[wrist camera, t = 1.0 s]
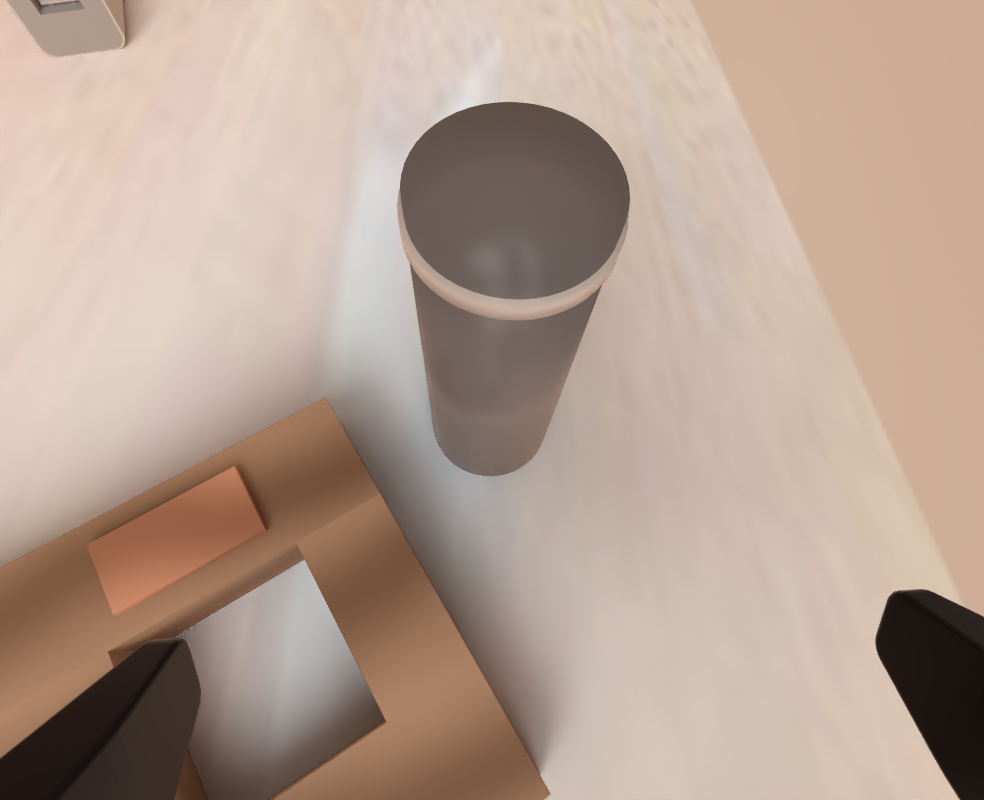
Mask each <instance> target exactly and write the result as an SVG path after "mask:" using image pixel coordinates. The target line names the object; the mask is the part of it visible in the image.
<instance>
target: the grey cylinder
mask: <svg viewBox="0 0 984 800" xmlns="http://www.w3.org/2000/svg"><path fill="white" fill-rule="evenodd" d="M629 202H630V194H629V185H628V181H627V176H626V173H625V171H624V168H623V166H622V164H621V162H620V160H619V159H618V157H617V155H616V153H615V152H614V151H613V150H612V148H611V147H610V146H609V144H608V143H607V142H606V141H605V140H604V139H603V138H602V137H601V136H600V135H599V134H598V133H596V132H595V131H594V130H592V129H591V128H590V127H589V126H587V125H585V124H584V123H582V122H581V121H579V120H577V119H576V118H573V117H571V116H569V115H567V114H565V113H563V112H560V111H557V110H554V109H552V108H548V107H544V106H540V105H534V104H528V103H517V102H500V103H490V104H483V105H479V106H475V107H471V108H467V109H465V110H462V111H459V112H456V113H454V114H452V115H450V116H448V117H446V118H444V119H443V120H441V121H440V122H438V123H437V124H435V125H434V126H433V127H431V128H430V129H429V130H428V131H427V132H425V133H424V134H423V136H422V137H421V138H420V139H419V140H418V141H417V142H416V144H415V145H414V147H413V148H412V150H411V151H410V153H409V155H408V157H407V159H406V161H405V163H404V167H403V170H402V174H401V182H400V190H399V195H398V204H397V206H398V219H399V226H400V232H401V238H402V243H403V247H404V250H405V253H406V255H407V258H408V260H409V262H410V267H411V274H412V281H413V288H414V294H415V301H416V308H417V315H418V322H419V329H420V336H421V343H422V350H423V357H424V364H425V371H426V378H427V385H428V392H429V398H430V405H431V412H432V419H433V426H434V432H435V437H436V439H437V442H438V444H439V446H440V448H441V450H442V451H443V453H444V454H445V455H446V456H447V457H448V459H449V460H450V461H452V462H453V463H454V464H455V465H457V466H458V467H460V468H461V469H463V470H466V471H468V472H470V473H474V474H477V475H483V476H497V475H503V474H507V473H510V472H513V471H515V470H517V469H519V468H521V467H522V466H523V465H525V464H526V463H527V462H528V461H529V460H531V459H532V457H533V456H534V455H535V454H536V452H537V451H538V449H539V447H540V445H541V443H542V441H543V438H544V435H545V433H546V430H547V428H548V425H549V422H550V420H551V417H552V414H553V412H554V409H555V407H556V404H557V401H558V399H559V396H560V393H561V391H562V388H563V385H564V383H565V380H566V378H567V375H568V372H569V370H570V367H571V364H572V362H573V359H574V357H575V354H576V351H577V349H578V346H579V343H580V341H581V338H582V336H583V333H584V330H585V328H586V325H587V322H588V320H589V317H590V315H591V312H592V309H593V307H594V304H595V301H596V299H597V296H598V294H599V291H600V288H601V286H602V284H603V282H604V281H605V280H606V279H607V277H608V275H609V274H610V272H611V271H612V269H613V267H614V264H615V262H616V260H617V258H618V255H619V252H620V250H621V247H622V245H623V242H624V239H625V236H626V232H627V227H628V211H629Z"/></svg>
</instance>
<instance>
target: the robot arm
mask: <svg viewBox="0 0 984 800" xmlns="http://www.w3.org/2000/svg"><path fill="white" fill-rule="evenodd" d="M875 644H876V649H877V652H878V655H879V658H880V660H881V662H882V664H883V665H884V667H885V669H886V671H887V673H888V674H889V676H890V678H891V680H892V682H893V684H894V685H895V687H896V689H897V691H898V693H899V695H900V696H901V698H902V700H903V702H904V704H905V706H906V707H907V709H908V711H909V713H910V715H911V716H912V718H913V720H914V722H915V724H916V726H917V727H918V729H919V731H920V733H921V735H922V737H923V738H924V740H925V742H926V744H927V746H928V748H929V749H930V751H931V753H932V755H933V757H934V758H935V760H936V762H937V764H938V765H939V767H940V769H941V770H942V772H943V774H944V776H945V777H946V779H947V780H948V782H949V784H950V785H951V787H952V788H953V790H954V791H955V793H956V795H957V796H958V798H959V799H960V800H984V617H983V616H981V615H979V614H977V613H975V612H973V611H971V610H969V609H967V608H965V607H963V606H960V605H958V604H956V603H954V602H952V601H950V600H948V599H946V598H944V597H942V596H940V595H938V594H936V593H934V592H931V591H929V590H923V589H916V590H900V591H895V592H893V593H892V594H891V595H890V596H889V598H888V600H887V603H886V606H885V609H884V612H883V615H882V618H881V621H880V624H879V628H878V631H877V634H876V639H875ZM200 697H201V690H200V683H199V680H198V676H197V673H196V669H195V666H194V662H193V659H192V655H191V652H190V648H189V646H188V643H187V642H186V641H185V640H184V639H182V638H167V639H153V640H149V641H147V642H145V643H144V644H142V645H141V646H139V647H138V648H137V649H136V650H134V651H133V652H132V653H131V654H129V655H128V656H127V657H126V658H124V659H123V660H122V661H121V662H119V663H118V664H117V665H116V666H114V667H113V668H112V669H111V670H109V671H108V672H107V673H106V674H104V675H103V676H102V677H101V678H99V679H98V680H97V681H96V682H94V683H93V684H92V685H91V686H89V687H88V688H87V689H86V690H84V691H83V692H82V693H81V694H79V695H78V696H77V697H76V698H74V699H73V700H72V701H71V702H69V703H68V704H67V705H66V706H64V707H63V708H62V709H61V710H59V711H58V712H57V713H56V714H54V715H53V716H52V717H51V718H49V719H48V720H47V721H46V722H44V723H43V724H42V725H41V726H39V727H38V728H37V729H36V730H34V731H33V732H32V733H31V734H29V735H28V736H27V737H26V738H24V739H23V740H22V741H21V742H19V743H18V744H17V745H16V746H14V747H13V748H12V749H11V750H9V751H8V752H7V753H6V754H4V755H3V756H2V757H1V758H0V800H174V799H175V795H176V792H177V788H178V784H179V780H180V777H181V773H182V769H183V765H184V762H185V758H186V754H187V750H188V747H189V743H190V739H191V735H192V732H193V728H194V724H195V720H196V717H197V713H198V709H199V705H200Z"/></svg>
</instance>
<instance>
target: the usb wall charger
mask: <svg viewBox="0 0 984 800" xmlns="http://www.w3.org/2000/svg"><path fill="white" fill-rule="evenodd" d="M5 1H6V3H7V4H8V6H9V7H10V8H11V10H12V11H13V13H14V14H15V15H16V17H17V18H18V20H19V21H20V22H21V24H22V25H23V27H24V28H25V29H26V31H27V32H28V33H29V35H30V36H31V38H32V39H33V40H34V42H35V43H36V45H37V46H38V47H39V49H40V50H42V51H43V52H44V53H46V54H47V55H49V56H52V57H55V58H60V57H68V56H75V55H82V54H89V53H97V52H104V51H111V50H118V49H122V48H123V47H124V45H125V28H124V12H123V0H5Z"/></svg>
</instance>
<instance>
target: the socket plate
mask: <svg viewBox="0 0 984 800" xmlns="http://www.w3.org/2000/svg"><path fill="white" fill-rule="evenodd" d="M304 559H305V561H306V563H307V565H308V567H309V569H310V571H311V573H312V575H313V577H314V579H315V581H316V583H317V585H318V587H319V589H320V591H321V593H322V595H323V597H324V599H325V601H326V603H327V605H328V607H329V609H330V611H331V613H332V615H333V617H334V619H335V621H336V623H337V625H338V627H339V629H340V631H341V633H342V635H343V637H344V639H345V641H346V643H347V645H348V647H349V649H350V651H351V652H352V654H353V656H354V658H355V660H356V662H357V664H358V666H359V668H360V670H361V672H362V674H363V676H364V678H365V680H366V682H367V684H368V686H369V688H370V690H371V692H372V694H373V696H374V698H375V700H376V702H377V704H378V706H379V708H380V710H381V712H382V714H383V716H384V718H385V721H384V722H382V723H381V724H379V725H378V726H376V727H375V728H374V729H372V730H371V731H369V732H368V733H366V734H365V735H363V736H362V737H360V738H359V739H357V740H356V741H354V742H353V743H352V744H350V745H349V746H347V747H346V748H344V749H343V750H341V751H340V752H338V753H337V754H335V755H334V756H333V757H331V758H330V759H328V760H327V761H325V762H324V763H322V764H321V765H319V766H318V767H316V768H315V769H313V770H312V771H311V772H309V773H308V774H306V775H305V776H303V777H302V778H300V779H299V780H297V781H296V782H294V783H293V784H291V785H290V786H289V787H287V788H286V789H284V790H283V791H281V792H280V793H278V794H277V795H275V796H274V797H272V798H271V799H269V800H544V799H545V798H546V797H548V796H549V795H550V792H549V790H548V788H547V787H546V785H545V783H544V781H543V780H542V778H541V776H540V774H539V773H538V771H537V769H536V767H535V765H534V764H533V762H532V760H531V758H530V757H529V755H528V753H527V751H526V750H525V748H524V746H523V744H522V743H521V741H520V739H519V737H518V736H517V734H516V732H515V730H514V728H513V727H512V725H511V723H510V721H509V720H508V718H507V716H506V714H505V713H504V711H503V709H502V707H501V706H500V704H499V702H498V700H497V698H496V697H495V695H494V693H493V691H492V690H491V688H490V686H489V684H488V683H487V681H486V679H485V677H484V676H483V674H482V672H481V670H480V669H479V667H478V665H477V663H476V661H475V660H474V658H473V656H472V654H471V653H470V651H469V649H468V647H467V646H466V644H465V642H464V640H463V639H462V637H461V635H460V633H459V631H458V630H457V628H456V626H455V624H454V623H453V621H452V619H451V617H450V616H449V614H448V612H447V610H446V609H445V607H444V605H443V603H442V602H441V600H440V598H439V596H438V594H437V593H436V591H435V589H434V587H433V586H432V584H431V582H430V580H429V579H428V577H427V575H426V573H425V572H424V570H423V568H422V566H421V564H420V563H419V561H418V559H417V557H416V556H415V554H414V552H413V550H412V549H411V547H410V545H409V543H408V542H407V540H406V538H405V536H404V534H403V533H402V531H401V529H400V527H399V526H398V524H397V522H396V520H395V519H394V517H393V515H392V513H391V512H390V510H389V508H388V506H387V505H386V503H385V501H384V499H383V497H382V496H381V494H380V492H379V490H378V489H377V487H376V485H375V483H374V482H373V480H372V478H371V476H370V475H369V473H368V471H367V469H366V467H365V466H364V464H363V462H362V460H361V459H360V457H359V455H358V453H357V452H356V450H355V448H354V446H353V445H352V443H351V441H350V439H349V438H348V436H347V434H346V432H345V430H344V429H343V427H342V425H341V423H340V422H339V420H338V418H337V416H336V415H335V413H334V411H333V409H332V408H331V406H330V404H329V402H328V400H327V399H326V398H324V399H322V400H320V401H318V402H316V403H314V404H312V405H311V406H309V407H307V408H305V409H303V410H301V411H299V412H297V413H295V414H293V415H292V416H290V417H288V418H286V419H284V420H282V421H280V422H278V423H276V424H274V425H272V426H271V427H269V428H267V429H265V430H263V431H261V432H259V433H257V434H255V435H253V436H251V437H250V438H248V439H246V440H244V441H242V442H240V443H238V444H236V445H234V446H232V447H231V448H229V449H227V450H225V451H223V452H221V453H219V454H217V455H215V456H213V457H211V458H210V459H208V460H206V461H204V462H202V463H200V464H198V465H196V466H194V467H192V468H190V469H189V470H187V471H185V472H183V473H181V474H179V475H177V476H175V477H173V478H171V479H170V480H168V481H166V482H164V483H162V484H160V485H158V486H156V487H154V488H152V489H150V490H149V491H147V492H145V493H143V494H141V495H139V496H137V497H135V498H133V499H131V500H129V501H128V502H126V503H124V504H122V505H120V506H118V507H116V508H114V509H112V510H110V511H109V512H107V513H105V514H103V515H101V516H99V517H97V518H95V519H93V520H91V521H89V522H88V523H86V524H84V525H82V526H80V527H78V528H76V529H74V530H72V531H70V532H68V533H67V534H65V535H63V536H61V537H59V538H57V539H55V540H53V541H51V542H49V543H48V544H46V545H44V546H42V547H40V548H38V549H36V550H34V551H32V552H30V553H28V554H27V555H25V556H23V557H21V558H19V559H17V560H15V561H13V562H11V563H9V564H7V565H6V566H4V567H2V568H0V758H1V757H2V756H3V755H4V754H6V753H7V752H8V751H9V750H11V749H12V748H13V747H14V746H16V745H17V744H18V743H19V742H21V741H22V740H23V739H24V738H26V737H27V736H28V735H29V734H31V733H32V732H33V731H34V730H36V729H37V728H38V727H39V726H41V725H42V724H43V723H44V722H46V721H47V720H48V719H49V718H51V717H52V716H53V715H54V714H56V713H57V712H58V711H59V710H61V709H62V708H63V707H64V706H66V705H67V704H68V703H69V702H71V701H72V700H73V699H74V698H76V697H77V696H78V695H79V694H81V693H82V692H83V691H84V690H86V689H87V688H88V687H89V686H91V685H92V684H93V683H94V682H96V681H97V680H98V679H99V678H101V677H102V676H103V675H104V674H106V673H107V672H108V671H109V670H111V669H112V668H113V667H114V666H116V665H117V664H118V663H119V662H121V661H122V660H123V659H124V658H126V657H127V656H128V655H129V654H131V653H132V652H133V651H134V650H136V649H137V648H138V647H139V646H141V645H142V644H144V643H145V642H147V641H149V640H153V639H167V638H172V637H173V636H175V635H177V634H178V633H180V632H182V631H184V630H185V629H187V628H189V627H190V626H192V625H194V624H195V623H197V622H199V621H201V620H202V619H204V618H206V617H207V616H209V615H211V614H212V613H214V612H216V611H218V610H219V609H221V608H223V607H224V606H226V605H228V604H229V603H231V602H233V601H234V600H236V599H238V598H240V597H241V596H243V595H245V594H246V593H248V592H250V591H251V590H253V589H255V588H257V587H258V586H260V585H262V584H263V583H265V582H267V581H268V580H270V579H272V578H274V577H275V576H277V575H279V574H280V573H282V572H284V571H285V570H287V569H289V568H290V567H292V566H294V565H296V564H297V563H299V562H301V561H302V560H304ZM174 800H208V799H207V797H206V794H205V792H204V789H203V787H202V784H201V782H200V779H199V776H198V774H197V771H196V769H195V766H194V764H193V761H192V758H191V756H190V753H189V751H188V750H187V754H186V758H185V762H184V765H183V769H182V773H181V777H180V780H179V784H178V788H177V792H176V795H175V799H174Z"/></svg>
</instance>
